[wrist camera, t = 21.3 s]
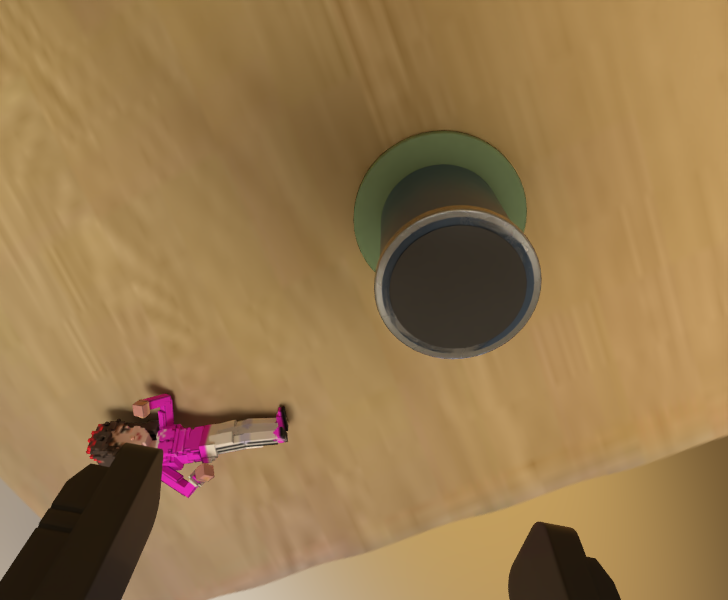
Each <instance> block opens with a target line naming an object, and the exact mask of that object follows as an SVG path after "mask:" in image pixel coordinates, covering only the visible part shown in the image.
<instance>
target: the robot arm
mask: <svg viewBox="0 0 728 600" xmlns="http://www.w3.org/2000/svg"><path fill="white" fill-rule="evenodd" d="M162 465H163V450H162V449H159V448H154V447H148V446H143V445H138V444H132V443H127V442H126V443H124V444H123V446H122V447H121V448H120V450H119V452H118V453H117V455H116V457H115V458H114V460H113V462H112V463H111V465H110V467H106V466H101V465H95V464H89V465H88V466H87V467H85V468H84V469H83V470H81V471H80V472H79V473H77V474H76V475H75V476H73V477H72V478H71V479H69V480H68V481H67V482H66V483H65V485H64V486H63V488H62V489H61V491H60V492H59V494H58V495H57V497H56V498H55V500H54V501H53V503H52V506H51V508H50V509H48V510H47V512H46V513H45V515H44V517H43V518H42V520H41V521H40V523H39V526H38V528H36V529H35V530H34V532H33V533H32V535H31V536H30V538H29V539H28V541H27V542H26V544H25V545H24V547H23V548H22V550H21V551H20V553H19V554H18V556H17V557H16V559H15V560H14V562H13V563H12V565H11V566H10V568H9V569H8V571H7V572H6V574H5V575H4V577H3V578H2V580H1V581H0V600H121V599H122V596H123V594H124V592H125V589H126V587H127V585H128V583H129V580H130V578H131V576H132V574H133V571H134V569H135V567H136V564H137V562H138V560H139V558H140V555H141V553H142V551H143V548H144V546H145V544H146V542H147V539H148V537H149V535H150V532H151V530H152V527H153V524H154V521H155V518H156V515H157V511H158V506H159V500H160V488H161V477H162ZM508 588H509V589H508V590H509V599H510V600H621V599H620V596H619V594H618V591H617V589H616V587H615V584H614V582H613V581H612V579H611V578H610V577H609V575H608V574H607V573H606V571H605V570H604V569H603V567H602V566H601V565H600V564H599V562H598V561H597V560H596V559H595V558H590V557H586V555H585V552H584V549H583V547H582V544H581V542H580V539H579V536H578V534H577V532H576V531H575V530H574V529H573V528H570V527H565V526H559V525H554V524H548V523H544V522H536V523H535V524H534V525H533V527H532V528H531V531H530V532H529V535H528V536H527V538H526V540H525V542H524V544H523V546H522V547H521V549H520V551H519V553H518V555H517V557H516V559H515V561H514V563H513V565H512V567H511V570H510V574H509V584H508Z"/></svg>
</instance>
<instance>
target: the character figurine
mask: <svg viewBox="0 0 728 600" xmlns="http://www.w3.org/2000/svg"><path fill="white" fill-rule="evenodd" d="M132 406H133V413H134V416H138V417H139V418H145V417H146V416H148V415H149V414H150V410H151V409H154V408H158V407H160V410H159V411H158V418H159V421H148V423H125V421H121V420H120V419H117V421H111V422H110V423H109V422H105V424H99V425H98V427H97V429H96V431H92V433H91V434H92V437H91V438H89V439H88V442H89V445H88V447H87V451H86V453H87V454H91V455H90V459H94V461H97V462H98V464H99V465H101V466H106V467H110V465H111V463H112V462H113V460H114V458H115V457H116V455H117V453H118V452H119V450H120V448H121V447H122V446H123V444H124V443H126V442H127V443H132V444H138V445H143V446H148V447H154V448H159V449H162V450H163V465H162V477H161V481H162V482H164V483H165V484H167V485H168V486H170V487H171V488H173V489H174V490H176V491H177V492H179V493H181V494H182V495H184V496H186V497H188V498H189V497H190V496H191V495H192V493H193V492H194V491H195V490H196V488H197V487H198V486H199V487H201V486H202V485H203V484H204V483H205V482H206V481H210V480H211V479H212V478H214V469H213V466H212V465H208V464H206V463H212V461H213V460H215V459H216V458H217V457H218V454H223V453H228V452H233V451H238V450H243V449H249V448H260V447H263V446H265V445H275V444H278V442H279V443H283V442H288V438H287V432H286V431H288V422H287V417H286V413H285V408H284V407H278V413H277V414H276V418H251V419H245V420H242V421H238V422H237V421H236V420H232V421H228V422H224V423H220V424H212V425H205V426H199V427H195V429H191V428H183V427H182V425H181V424H176V425H174V413H173V401H172V399H171V395H169V394H166V393H165V394H161V395H158V396H154V397H150V398H147V399H143V400H142V399H140V400H139V401H137V402H136V403H134V404H133V405H132ZM194 461H195V462H200V461H202V464H201V465H200V466H198V467H197V468H196V469H195V471H194V472H193V473H192V474H191V475H190V476H189V477H188V478H189V479H190V480H189V482H188V481H187V480H185V479H183V475H181V474H180V473H178V472H177V471H176V470H182V468H183V466H184V464H186V463H193V462H194Z"/></svg>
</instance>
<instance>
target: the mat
mask: <svg viewBox="0 0 728 600" xmlns="http://www.w3.org/2000/svg"><path fill="white" fill-rule="evenodd" d="M441 164H446V165H455V166H460V167H463V168H466V169H468V170H470V171H472V172H474V173H475V174H477V175H478V176H480V177H481V178H482V179H483V180H484V181H485V182H486V183H487V184H488V185H489V186H490V188H491V189H492V191H493V192H494V194H495V196H496V197H497V199H498V201H499V202H500V204H501V206H502V207H503V209H504V211H505V212H506V214H507V215H508V217H509V219H510V220H511V221H512V222H513V223H514V224H515V225H516V226H518V227H519V228H520V229H521V231H522V232H523V233H524V229H525V224H526V214H527V207H526V198H525V193H524V189H523V186H522V184H521V181H520V178H519V177H518V175H517V173H516V171H515V169H514V168H513V167H512V165H511V164H510V163H509V161H508V160H507V159H506V158H505V157H504V156H503V155H502V154H501V153H500V152H499V151H498V150H497V149H496V148H494V147H493V146H491V145H490V144H489V143H487V142H485V141H483V140H481V139H479V138H477V137H474V136H472V135H469V134H465V133H460V132H455V131H431V132H426V133H421V134H418V135H415V136H412V137H409V138H407V139H405V140H403V141H401V142H399V143H397V144H396V145H394V146H393V147H391V148H390V149H388V150H387V151H386V152H385V153H383V154H382V155H381V156H380V157H379V158H378V159H377V160H376V161H375V163H374V164H373V165H372V166H371V167H370V169H369V170H368V172H367V173H366V175H365V177H364V179H363V181H362V183H361V185H360V187H359V190H358V193H357V197H356V202H355V207H354V231H355V236H356V240H357V243H358V246H359V249H360V251H361V253H362V255H363V257H364V259H365V260H366V262H367V263H368V264H369V266H370V267H371V268H372V269H373V271H374V272H376V267H377V263H378V260H379V258H380V239H381V216H382V211H383V207H384V205H385V202H386V200H387V198H388V196H389V194H390V193H391V191H392V190H393V188H394V187H395V186H396V185H397V184H398V183H399V182H400V181H401V180H402V179H403V178H405V177H406V176H408V175H409V174H411V173H412V172H414V171H416V170H418V169H421V168H424V167H427V166H432V165H441Z"/></svg>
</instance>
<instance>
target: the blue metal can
mask: <svg viewBox="0 0 728 600" xmlns="http://www.w3.org/2000/svg"><path fill="white" fill-rule="evenodd" d="M541 279H542V278H541V268H540V264H539V260H538V257H537V254H536V252H535V250H534V248H533V246H532V245H531V243H530V241H529V240H528V238H527V237H526V235H525V234H524V233H523V232H522V231H521V229H520V228H519V227H518V226H516V225H515V224H514V223H513V222H512V221H511V220H510V219H509V217H508V215H507V214H506V212H505V211H504V209H503V207H502V206H501V204H500V202H499V201H498V199H497V197H496V196H495V194H494V192H493V191H492V189H491V188H490V186H489V185H488V184H487V183H486V182H485V181H484V180H483V179H482V178H481V177H480V176H478V175H477V174H475V173H474V172H472V171H470V170H468V169H466V168H463V167H460V166H455V165H446V164H441V165H432V166H427V167H424V168H421V169H418V170H416V171H414V172H412V173H411V174H409V175H408V176H406V177H405V178H403V179H402V180H401V181H400V182H399V183H398V184H397V185H396V186H395V187H394V188H393V190H392V191H391V193H390V194H389V196H388V198H387V200H386V202H385V205H384V207H383V211H382V216H381V239H380V258H379V260H378V263H377V267H376V272H375V283H374V292H375V301H376V305H377V309H378V311H379V314H380V316H381V318H382V320H383V322H384V323H385V325H386V326H387V328H388V329H389V330H390V331H391V333H392V334H393V335H394V336H395V337H396V338H397V339H398V340H400V341H401V342H402V343H404V344H405V345H406V346H408V347H410V348H412V349H413V350H415V351H418V352H420V353H422V354H425V355H429V356H432V357H438V358H444V359H462V358H469V357H474V356H478V355H482V354H485V353H487V352H490V351H492V350H494V349H496V348H498V347H500V346H502V345H503V344H505V343H506V342H508V341H509V340H510V339H512V338H513V337H514V336H515V335H516V334H517V333H518V332H519V331H520V330H521V329H522V328H523V327H524V326H525V324H526V323H527V322H528V320H529V319H530V317H531V315H532V314H533V312H534V310H535V308H536V305H537V302H538V299H539V295H540V291H541Z"/></svg>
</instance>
